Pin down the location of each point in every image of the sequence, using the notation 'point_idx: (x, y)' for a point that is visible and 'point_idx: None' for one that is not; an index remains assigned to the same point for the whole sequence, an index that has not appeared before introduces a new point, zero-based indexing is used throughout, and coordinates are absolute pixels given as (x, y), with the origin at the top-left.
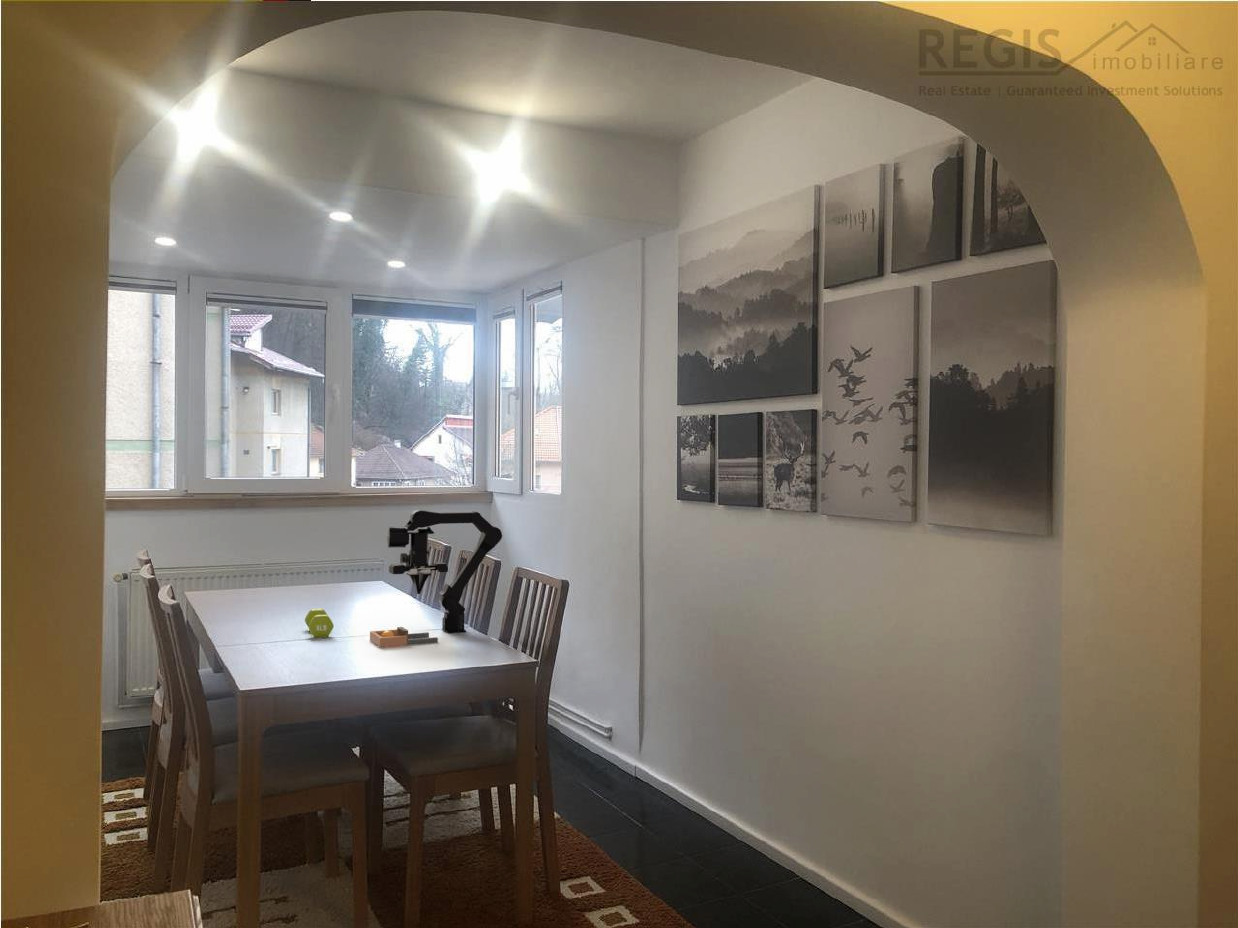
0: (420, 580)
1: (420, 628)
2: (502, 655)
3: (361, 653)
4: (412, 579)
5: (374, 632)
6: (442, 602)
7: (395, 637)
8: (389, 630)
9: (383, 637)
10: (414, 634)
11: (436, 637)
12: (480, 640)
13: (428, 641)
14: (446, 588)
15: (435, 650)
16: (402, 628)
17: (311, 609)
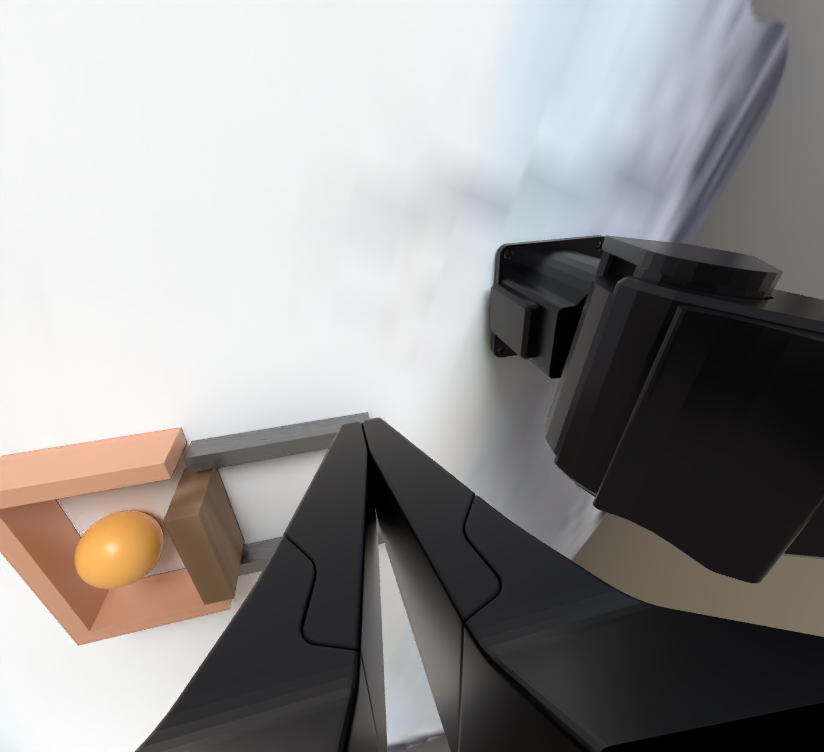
0: (444, 683)
1: (383, 116)
2: None
3: (23, 671)
4: (226, 695)
5: (6, 532)
6: (556, 459)
7: (167, 621)
8: (114, 486)
9: (97, 633)
10: (288, 452)
11: (380, 537)
12: (545, 509)
13: None
14: (714, 521)
15: None
16: (200, 554)
17: None
